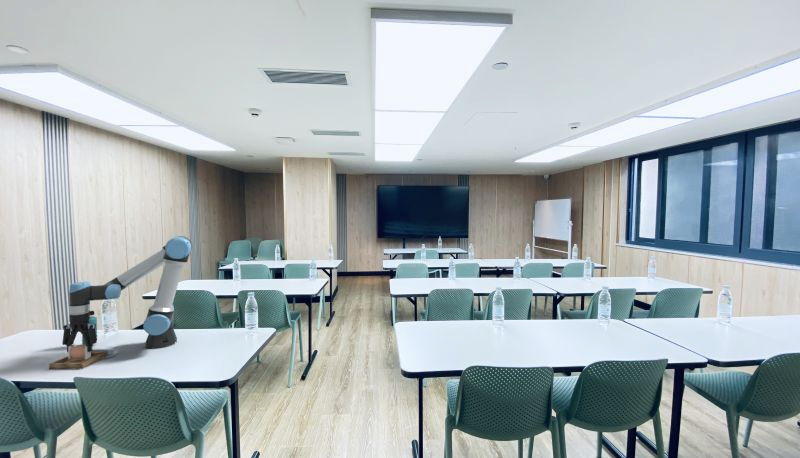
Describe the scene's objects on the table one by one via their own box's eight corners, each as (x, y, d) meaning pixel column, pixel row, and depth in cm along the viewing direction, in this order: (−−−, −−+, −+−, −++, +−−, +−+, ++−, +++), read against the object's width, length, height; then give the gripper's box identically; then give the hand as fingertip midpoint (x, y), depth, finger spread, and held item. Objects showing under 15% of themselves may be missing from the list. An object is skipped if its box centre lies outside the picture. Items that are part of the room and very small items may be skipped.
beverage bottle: (87, 348, 187) (87, 313, 186) (78, 347, 188) (78, 312, 188) (100, 344, 193) (100, 310, 193) (91, 343, 194) (91, 309, 194)
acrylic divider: (118, 353, 180) (118, 347, 180) (111, 357, 175) (111, 350, 175) (76, 354, 178) (76, 347, 178) (68, 358, 173) (68, 351, 173)
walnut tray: (107, 356, 176) (107, 351, 176) (82, 368, 161) (82, 363, 161) (76, 356, 175) (76, 352, 175) (49, 369, 160) (49, 364, 160)
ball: (92, 355, 172) (93, 342, 172) (81, 361, 165) (81, 347, 165) (78, 355, 171) (78, 342, 171) (65, 361, 164) (66, 347, 164)
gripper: (106, 311, 172) (106, 354, 173) (65, 311, 171) (65, 355, 171) (94, 315, 165) (94, 360, 165) (51, 315, 163) (51, 361, 164)
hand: (79, 358), depth 168 cm, fingers closed on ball, 7 cm apart
